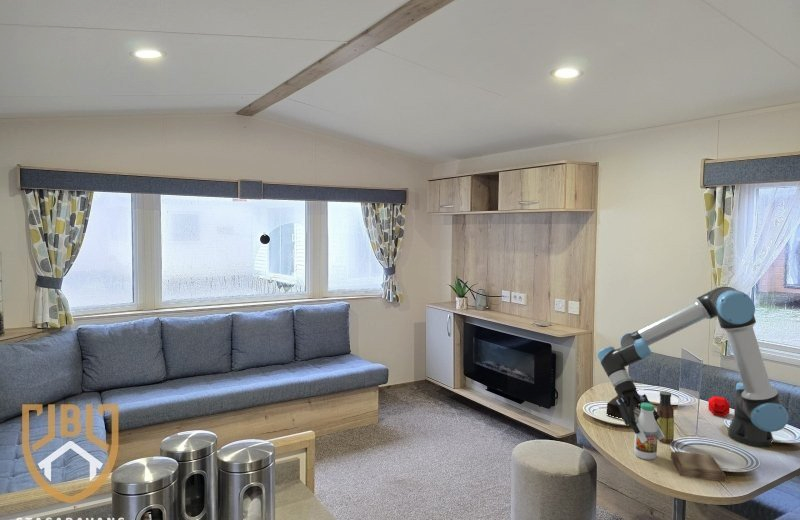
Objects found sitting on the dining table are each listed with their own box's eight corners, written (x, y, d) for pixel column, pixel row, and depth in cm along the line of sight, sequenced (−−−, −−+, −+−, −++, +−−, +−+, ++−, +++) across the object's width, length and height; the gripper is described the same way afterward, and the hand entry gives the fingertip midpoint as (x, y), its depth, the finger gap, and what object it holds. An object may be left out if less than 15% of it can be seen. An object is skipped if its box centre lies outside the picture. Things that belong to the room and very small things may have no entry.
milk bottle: (629, 452, 197) (631, 402, 195) (644, 449, 200) (647, 399, 198) (645, 461, 190) (647, 409, 188) (661, 458, 193) (663, 406, 191)
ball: (708, 415, 233) (709, 399, 232) (707, 409, 240) (708, 393, 239) (729, 419, 229) (730, 402, 228) (728, 413, 236) (729, 396, 235)
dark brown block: (637, 408, 242) (637, 395, 241) (623, 421, 227) (624, 407, 226) (619, 404, 247) (620, 391, 246) (605, 416, 232) (606, 402, 232)
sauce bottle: (671, 438, 210) (673, 390, 208) (675, 444, 204) (677, 396, 202) (653, 436, 212) (656, 389, 210) (657, 442, 206) (659, 394, 204)
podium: (712, 462, 190) (712, 454, 190) (725, 481, 176) (725, 472, 176) (670, 457, 194) (670, 449, 193) (680, 475, 180) (680, 467, 180)
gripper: (637, 385, 211) (668, 439, 197) (597, 391, 204) (625, 448, 190) (648, 376, 205) (680, 432, 192) (607, 382, 198) (637, 440, 185)
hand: (653, 439), depth 191 cm, fingers closed on milk bottle, 8 cm apart
